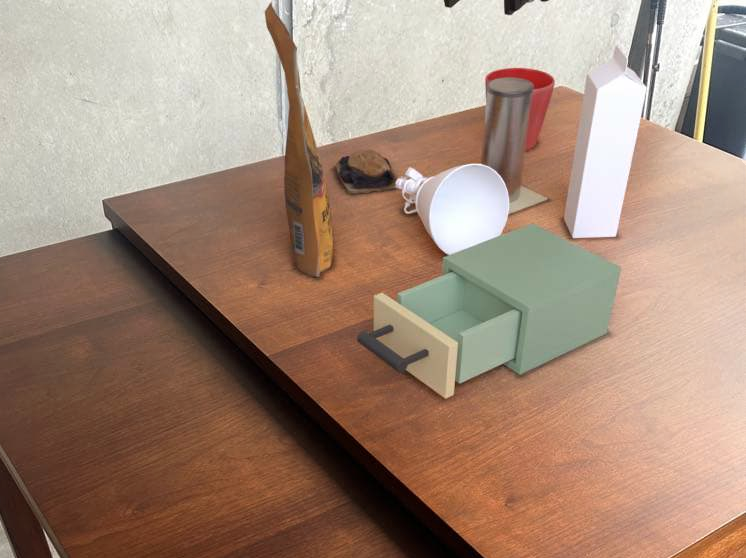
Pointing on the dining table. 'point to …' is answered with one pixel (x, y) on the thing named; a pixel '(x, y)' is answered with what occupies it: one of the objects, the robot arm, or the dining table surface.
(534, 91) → the flower pot
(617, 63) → the milk
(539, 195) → the mat
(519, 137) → the silver tall cylinder
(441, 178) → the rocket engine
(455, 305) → the drawer
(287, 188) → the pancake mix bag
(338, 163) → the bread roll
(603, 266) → the cabinet
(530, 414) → the dining table surface
